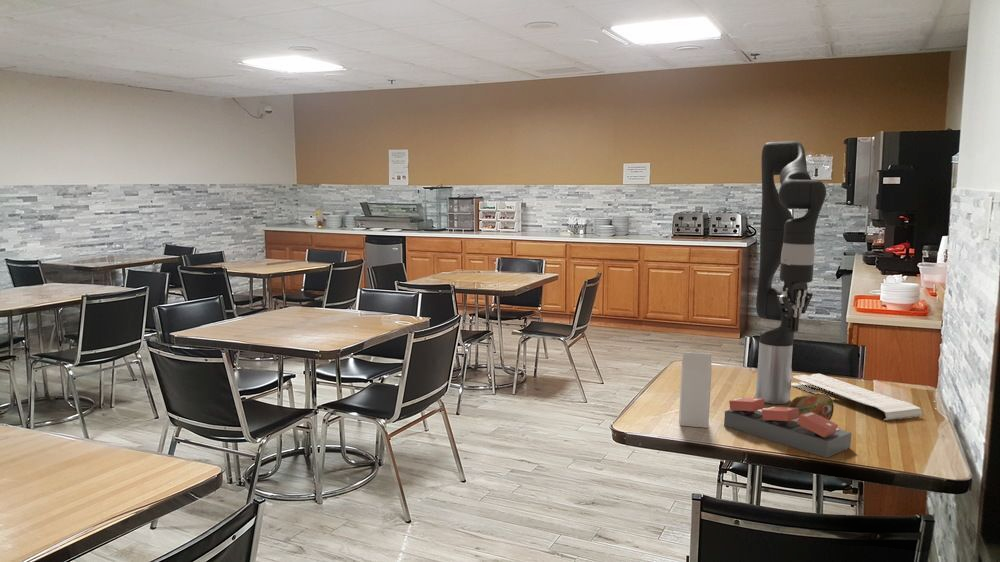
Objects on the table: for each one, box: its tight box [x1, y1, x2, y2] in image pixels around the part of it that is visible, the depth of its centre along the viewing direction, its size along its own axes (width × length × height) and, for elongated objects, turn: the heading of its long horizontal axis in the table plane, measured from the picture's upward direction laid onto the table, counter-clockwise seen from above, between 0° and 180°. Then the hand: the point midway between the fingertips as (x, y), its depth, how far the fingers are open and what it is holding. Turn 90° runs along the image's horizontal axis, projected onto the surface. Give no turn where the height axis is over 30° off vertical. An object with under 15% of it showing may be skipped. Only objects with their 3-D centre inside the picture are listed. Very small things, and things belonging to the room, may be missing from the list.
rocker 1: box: [728, 397, 766, 411], centre depth 188 cm, size 5×7×2 cm
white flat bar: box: [791, 373, 924, 421], centre depth 217 cm, size 12×4×40 cm
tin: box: [788, 393, 835, 421], centre depth 192 cm, size 15×3×8 cm, turn 117°
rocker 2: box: [762, 406, 799, 421], centre depth 181 cm, size 5×7×2 cm
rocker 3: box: [797, 411, 839, 437], centre depth 173 cm, size 5×7×2 cm
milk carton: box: [678, 351, 712, 429], centre depth 191 cm, size 7×7×19 cm
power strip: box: [723, 407, 852, 459], centre depth 183 cm, size 11×28×5 cm, turn 38°
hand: (792, 331), depth 180 cm, fingers closed
